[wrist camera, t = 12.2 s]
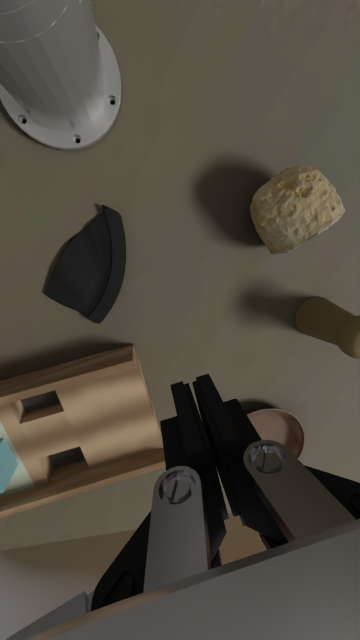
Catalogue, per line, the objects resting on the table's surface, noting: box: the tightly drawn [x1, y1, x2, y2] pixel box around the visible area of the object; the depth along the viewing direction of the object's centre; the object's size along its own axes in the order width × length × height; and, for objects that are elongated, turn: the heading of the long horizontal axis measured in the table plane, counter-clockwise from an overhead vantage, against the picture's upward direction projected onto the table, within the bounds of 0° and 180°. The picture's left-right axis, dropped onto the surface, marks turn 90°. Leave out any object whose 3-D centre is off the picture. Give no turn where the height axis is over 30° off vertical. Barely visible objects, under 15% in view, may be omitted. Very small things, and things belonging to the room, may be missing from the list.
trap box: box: [0, 344, 166, 518], centre depth 38 cm, size 17×26×6 cm, turn 103°
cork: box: [295, 297, 360, 359], centre depth 37 cm, size 6×6×11 cm
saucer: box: [246, 408, 305, 460], centre depth 46 cm, size 15×15×3 cm
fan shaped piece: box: [45, 205, 126, 324], centre depth 35 cm, size 8×14×2 cm, turn 148°
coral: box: [250, 166, 345, 254], centre depth 33 cm, size 10×10×10 cm
